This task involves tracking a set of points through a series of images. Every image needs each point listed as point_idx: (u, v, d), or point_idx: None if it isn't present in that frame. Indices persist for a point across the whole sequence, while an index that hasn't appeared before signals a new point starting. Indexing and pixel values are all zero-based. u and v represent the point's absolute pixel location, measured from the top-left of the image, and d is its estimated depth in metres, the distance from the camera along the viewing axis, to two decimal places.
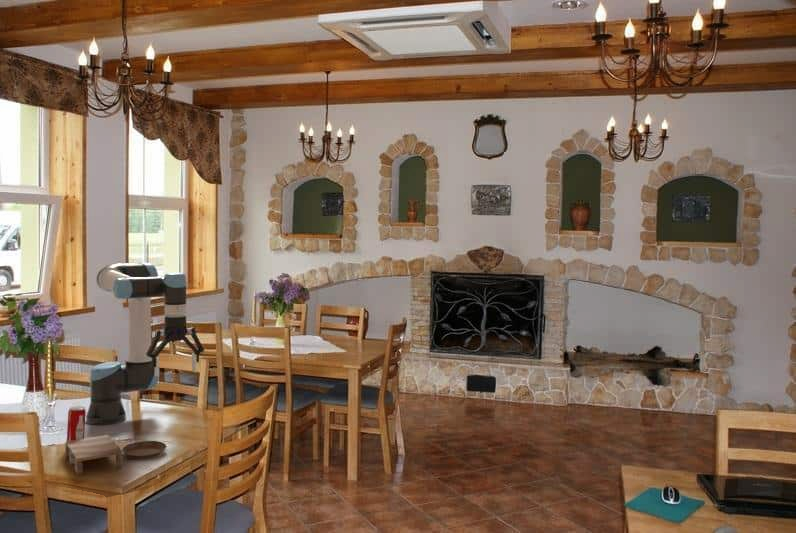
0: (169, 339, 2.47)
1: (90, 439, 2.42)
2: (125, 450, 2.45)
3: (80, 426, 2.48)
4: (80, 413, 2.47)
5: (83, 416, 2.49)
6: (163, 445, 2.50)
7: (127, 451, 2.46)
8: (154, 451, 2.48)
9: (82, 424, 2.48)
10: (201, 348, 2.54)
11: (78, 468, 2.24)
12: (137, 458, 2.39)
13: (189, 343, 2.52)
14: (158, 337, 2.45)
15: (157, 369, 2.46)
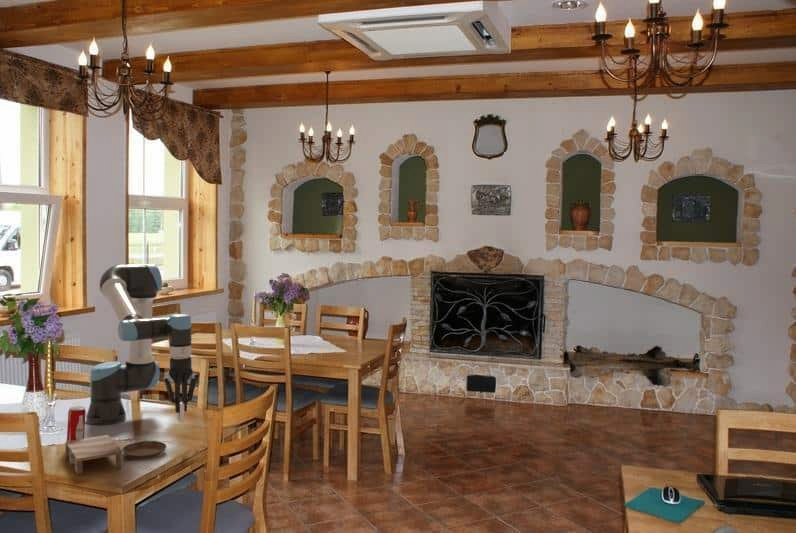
0: (179, 381, 2.49)
1: (90, 439, 2.42)
2: (125, 450, 2.45)
3: (80, 426, 2.48)
4: (80, 413, 2.47)
5: (83, 416, 2.49)
6: (163, 445, 2.50)
7: (127, 451, 2.46)
8: (154, 451, 2.48)
9: (82, 424, 2.48)
10: (190, 397, 2.53)
11: (78, 468, 2.24)
12: (137, 458, 2.39)
13: (185, 388, 2.51)
14: (168, 383, 2.48)
15: (181, 415, 2.51)
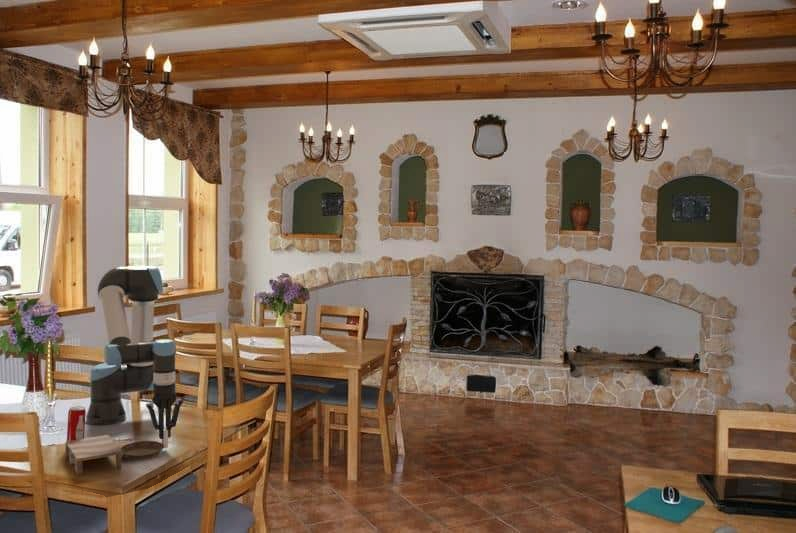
0: (162, 408, 2.47)
1: (90, 439, 2.42)
2: (122, 450, 2.45)
3: (80, 426, 2.48)
4: (80, 413, 2.47)
5: (83, 416, 2.49)
6: (160, 445, 2.50)
7: (124, 451, 2.45)
8: (151, 451, 2.48)
9: (82, 424, 2.48)
10: (174, 423, 2.50)
11: (78, 468, 2.24)
12: (134, 458, 2.39)
13: (169, 414, 2.49)
14: (152, 410, 2.45)
15: (164, 441, 2.48)
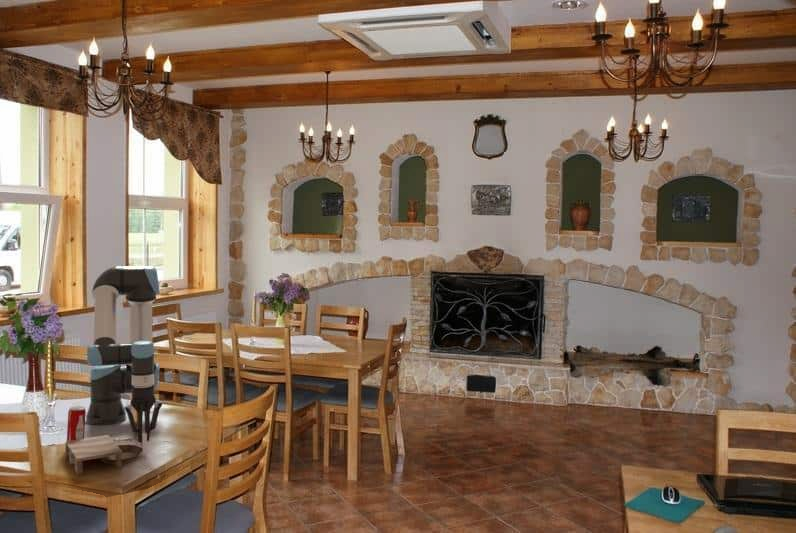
0: (141, 411, 2.42)
1: (90, 439, 2.42)
2: None
3: (80, 426, 2.48)
4: (80, 413, 2.47)
5: (83, 416, 2.49)
6: (139, 449, 2.45)
7: None
8: (130, 455, 2.43)
9: (82, 424, 2.48)
10: (153, 426, 2.46)
11: (78, 468, 2.24)
12: (111, 462, 2.34)
13: (148, 418, 2.44)
14: (130, 413, 2.41)
15: (143, 444, 2.44)
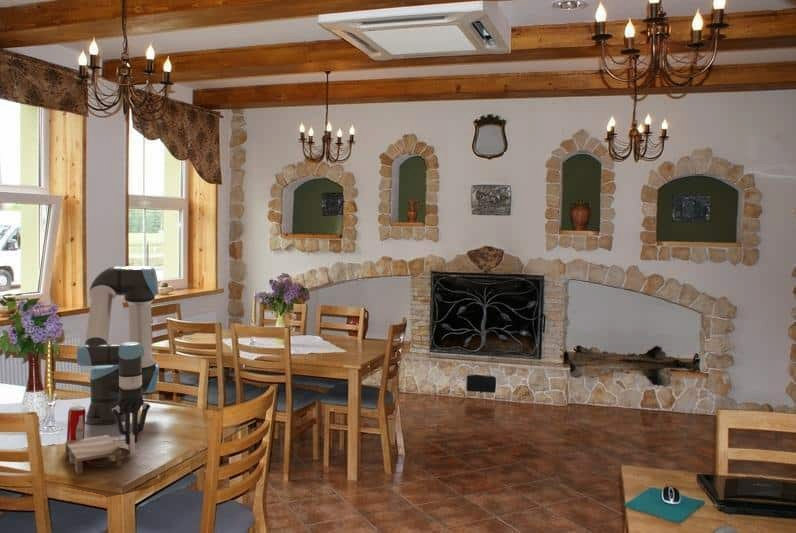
0: (128, 413, 2.40)
1: (90, 439, 2.42)
2: None
3: (80, 426, 2.48)
4: (80, 413, 2.47)
5: (83, 416, 2.49)
6: (127, 451, 2.43)
7: None
8: None
9: (82, 424, 2.48)
10: (141, 428, 2.43)
11: (78, 468, 2.24)
12: (99, 465, 2.32)
13: (135, 419, 2.42)
14: (117, 415, 2.38)
15: (131, 446, 2.42)
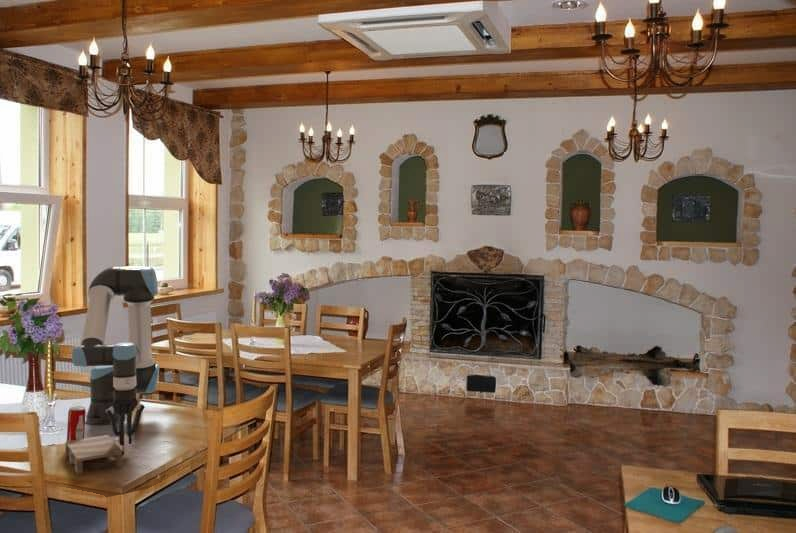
0: (122, 413, 2.39)
1: (90, 439, 2.42)
2: None
3: (80, 426, 2.48)
4: (80, 413, 2.47)
5: (83, 416, 2.49)
6: None
7: None
8: (111, 459, 2.40)
9: (82, 424, 2.48)
10: (135, 429, 2.42)
11: (78, 468, 2.24)
12: (92, 466, 2.31)
13: (130, 420, 2.41)
14: (111, 416, 2.37)
15: (125, 448, 2.40)
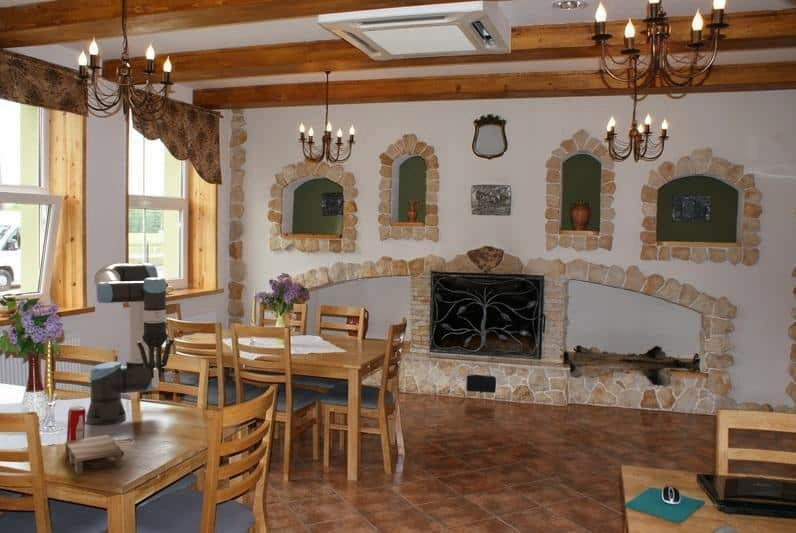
0: (152, 346, 2.43)
1: (90, 439, 2.42)
2: None
3: (80, 426, 2.48)
4: (80, 413, 2.47)
5: (83, 416, 2.49)
6: None
7: None
8: (111, 459, 2.40)
9: (82, 424, 2.48)
10: (165, 362, 2.47)
11: (78, 468, 2.24)
12: (92, 466, 2.31)
13: (159, 354, 2.45)
14: (142, 348, 2.42)
15: (154, 380, 2.45)
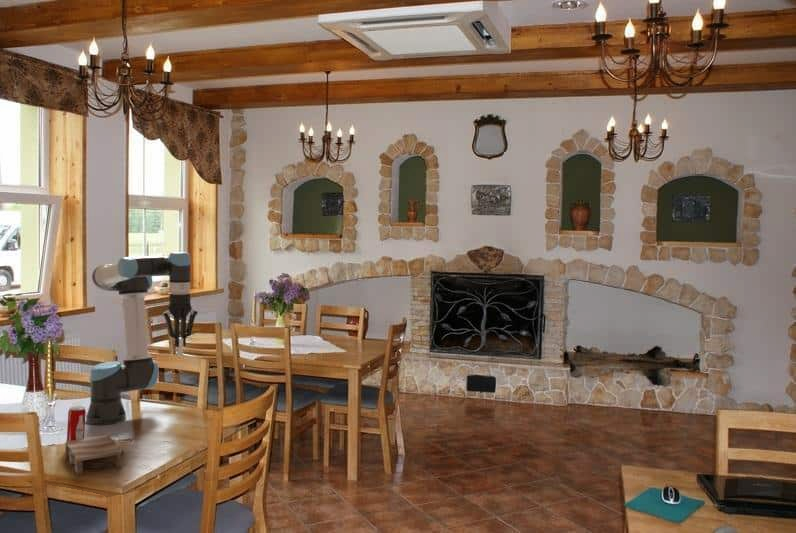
0: (178, 317, 2.58)
1: (90, 439, 2.42)
2: None
3: (80, 426, 2.48)
4: (80, 413, 2.47)
5: (83, 416, 2.49)
6: None
7: None
8: (111, 459, 2.40)
9: (82, 424, 2.48)
10: (189, 332, 2.61)
11: (78, 468, 2.24)
12: (92, 466, 2.31)
13: (184, 324, 2.60)
14: (168, 318, 2.56)
15: (180, 349, 2.59)
